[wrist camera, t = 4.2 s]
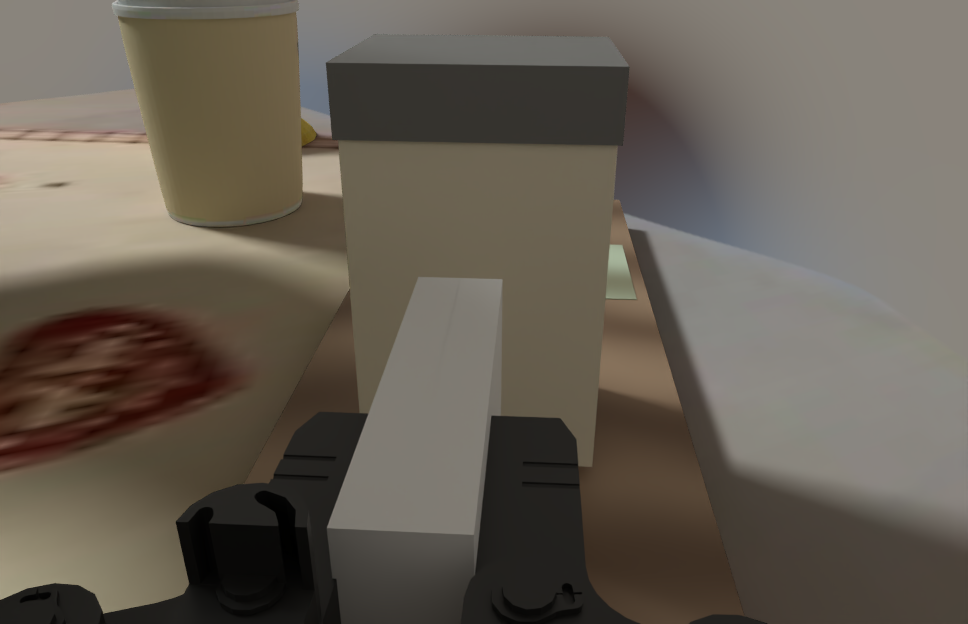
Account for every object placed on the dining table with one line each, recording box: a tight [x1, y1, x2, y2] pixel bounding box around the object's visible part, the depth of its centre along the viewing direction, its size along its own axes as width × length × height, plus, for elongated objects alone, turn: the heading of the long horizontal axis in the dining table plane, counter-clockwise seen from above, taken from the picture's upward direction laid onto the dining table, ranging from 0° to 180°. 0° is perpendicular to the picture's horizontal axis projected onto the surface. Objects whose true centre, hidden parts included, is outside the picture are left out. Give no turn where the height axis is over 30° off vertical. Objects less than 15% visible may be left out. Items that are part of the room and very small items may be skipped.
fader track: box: [186, 200, 744, 624], centre depth 29 cm, size 30×12×2 cm, turn 176°
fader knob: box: [326, 34, 629, 467], centre depth 20 cm, size 5×6×10 cm
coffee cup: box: [112, 0, 303, 227], centre depth 43 cm, size 9×9×12 cm
